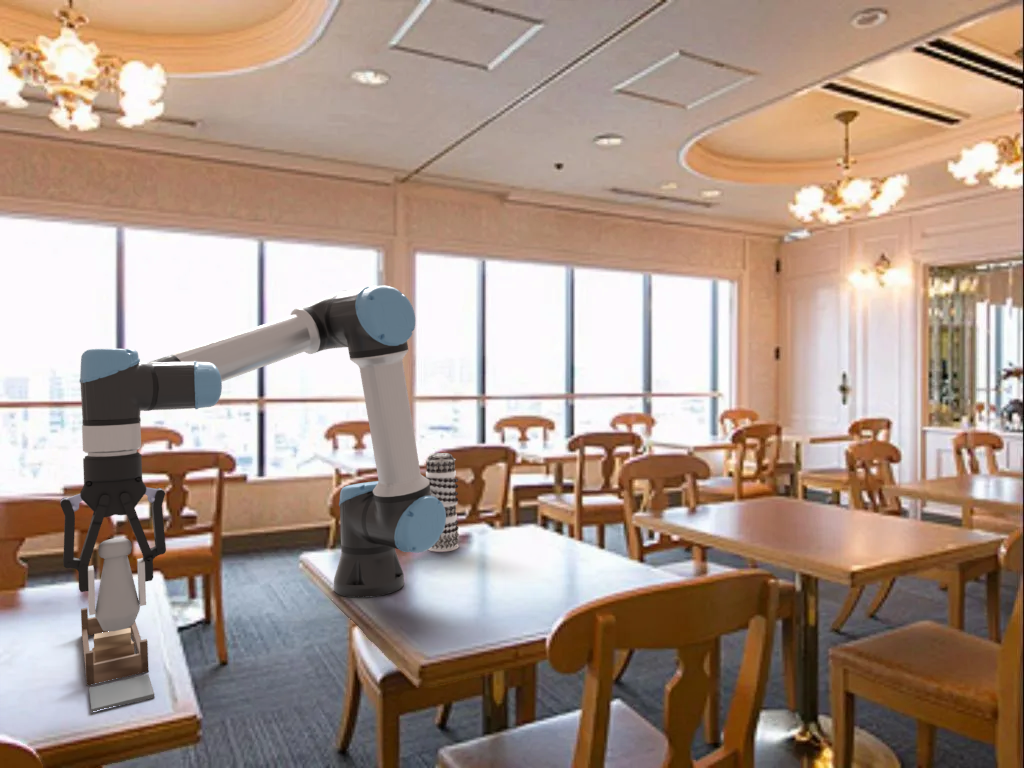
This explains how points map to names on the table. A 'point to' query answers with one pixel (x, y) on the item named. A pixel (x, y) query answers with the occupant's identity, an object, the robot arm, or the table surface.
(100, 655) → the offcut
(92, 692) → the coaster
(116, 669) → the open rectangular wooden frame
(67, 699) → the table surface
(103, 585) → the salt shaker
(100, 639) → the offcut
